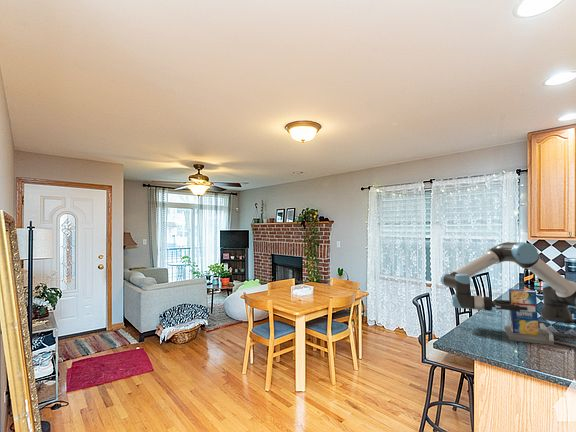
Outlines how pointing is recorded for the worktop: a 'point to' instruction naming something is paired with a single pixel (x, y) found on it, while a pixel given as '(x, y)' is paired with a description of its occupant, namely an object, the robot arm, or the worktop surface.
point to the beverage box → (523, 312)
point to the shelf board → (527, 336)
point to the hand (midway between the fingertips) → (533, 307)
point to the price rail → (546, 332)
